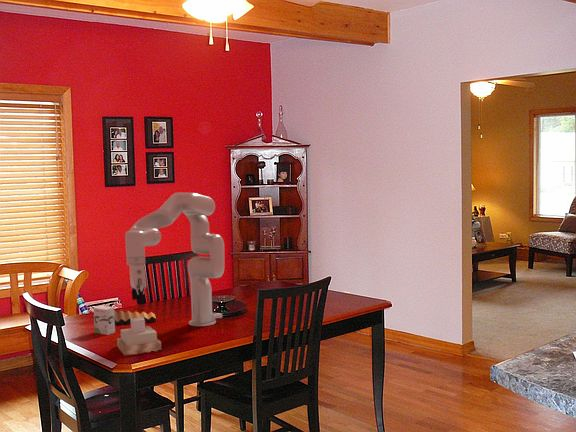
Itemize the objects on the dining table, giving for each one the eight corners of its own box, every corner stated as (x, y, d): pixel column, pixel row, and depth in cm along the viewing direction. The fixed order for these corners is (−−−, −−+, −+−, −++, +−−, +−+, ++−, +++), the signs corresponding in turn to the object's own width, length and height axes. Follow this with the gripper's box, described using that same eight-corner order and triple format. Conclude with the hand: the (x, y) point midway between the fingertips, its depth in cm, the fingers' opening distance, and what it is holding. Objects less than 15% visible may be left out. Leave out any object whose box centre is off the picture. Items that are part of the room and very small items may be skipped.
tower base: (153, 343, 296) (152, 333, 295) (161, 351, 282) (161, 342, 282) (117, 347, 290) (117, 338, 289) (124, 357, 276) (123, 347, 276)
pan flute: (102, 316, 349) (102, 327, 325) (102, 309, 349) (102, 320, 325) (152, 311, 355) (156, 323, 331) (152, 305, 355) (156, 316, 331)
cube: (143, 328, 288) (142, 317, 287) (145, 331, 283) (144, 319, 283) (131, 330, 286) (130, 318, 286) (133, 333, 281) (132, 321, 281)
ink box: (93, 333, 313) (92, 307, 312) (101, 330, 317) (100, 305, 316) (108, 335, 309) (106, 309, 308) (115, 332, 313) (114, 306, 312)
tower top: (149, 335, 293) (149, 325, 293) (157, 341, 283) (156, 332, 282) (121, 339, 288) (120, 329, 288) (127, 345, 277) (127, 336, 277)
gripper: (149, 262, 276) (152, 304, 278) (140, 256, 292) (143, 296, 294) (130, 264, 273) (133, 307, 275) (122, 258, 289) (125, 298, 291)
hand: (138, 301), depth 284 cm, fingers open, 9 cm apart
